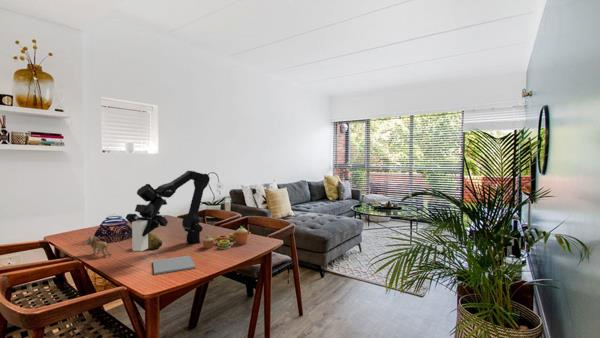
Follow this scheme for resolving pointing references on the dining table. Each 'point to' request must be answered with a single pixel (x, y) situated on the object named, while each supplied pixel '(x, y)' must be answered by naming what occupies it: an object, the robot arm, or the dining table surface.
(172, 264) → the rubber mat
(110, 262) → the dining table surface
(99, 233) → the decorative bowl
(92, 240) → the lion figurine
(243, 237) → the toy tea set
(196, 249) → the dining table surface
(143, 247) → the tall block
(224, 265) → the dining table surface
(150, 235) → the potato
